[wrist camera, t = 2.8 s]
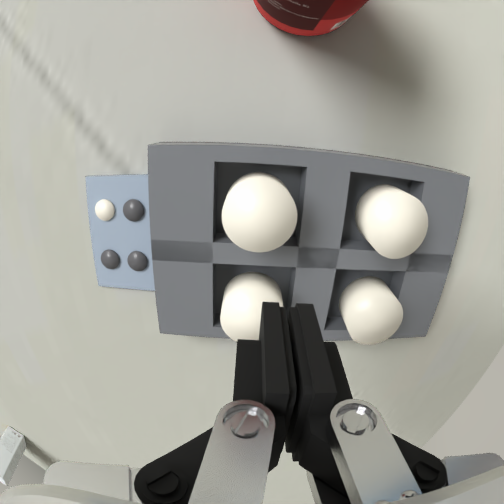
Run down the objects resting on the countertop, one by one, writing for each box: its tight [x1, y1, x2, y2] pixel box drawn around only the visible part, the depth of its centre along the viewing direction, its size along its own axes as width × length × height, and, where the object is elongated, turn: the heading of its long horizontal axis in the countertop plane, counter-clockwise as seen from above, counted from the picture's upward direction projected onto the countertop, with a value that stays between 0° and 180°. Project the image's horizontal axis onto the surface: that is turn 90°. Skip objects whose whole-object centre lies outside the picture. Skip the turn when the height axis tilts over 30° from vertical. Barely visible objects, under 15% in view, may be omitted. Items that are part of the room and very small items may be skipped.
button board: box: [86, 142, 470, 341], centre depth 24 cm, size 30×15×3 cm, turn 87°
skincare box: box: [0, 426, 27, 486], centre depth 36 cm, size 6×4×12 cm
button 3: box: [355, 184, 428, 259], centre depth 20 cm, size 4×4×3 cm
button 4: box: [339, 276, 403, 345], centre depth 23 cm, size 4×4×3 cm
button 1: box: [222, 172, 297, 252], centre depth 20 cm, size 4×4×3 cm
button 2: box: [220, 272, 284, 342], centre depth 22 cm, size 4×4×3 cm
